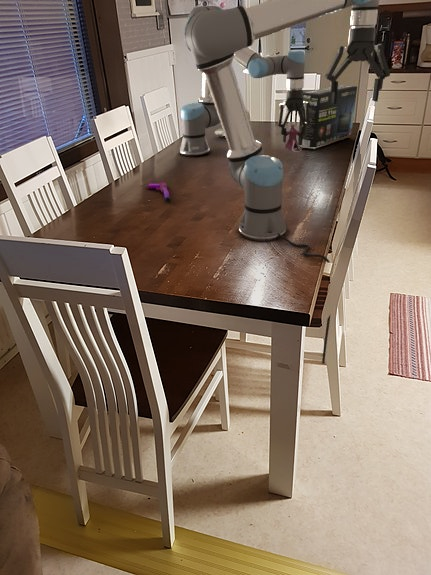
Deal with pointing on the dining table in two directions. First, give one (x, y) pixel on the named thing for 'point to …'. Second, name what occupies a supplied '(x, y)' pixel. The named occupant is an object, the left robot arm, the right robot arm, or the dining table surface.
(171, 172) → the dining table surface
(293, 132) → the action figure
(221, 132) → the fossil
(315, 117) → the router box
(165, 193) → the handgun
